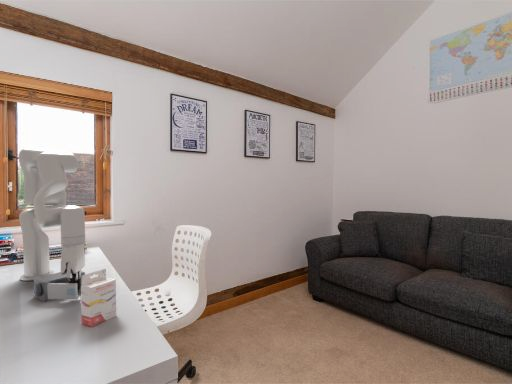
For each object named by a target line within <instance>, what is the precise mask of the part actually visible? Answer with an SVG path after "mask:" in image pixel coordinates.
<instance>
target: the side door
mask: <svg viewBox="0 0 512 384" xmlns="http://www.w3.org/2000/svg"><path fill="white" fill-rule="evenodd" d="M78 294H79V293H78V290H77V283H49V282H46V283H45V300H49V299H52V300H77V299H78V297H79V296H78ZM49 301H50V300H49Z"/></svg>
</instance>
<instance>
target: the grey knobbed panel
mask: <svg viewBox="0 0 512 384" xmlns="http://www.w3.org/2000/svg"><path fill="white" fill-rule="evenodd" d="M85 274H86V272H85V271H83V270H81V277H80V278H79V279H80V281H82V275H85ZM46 282H49V283H69V279H68V278H67V273H65V274H63V275H62V274H61V271H59V272H54V274H50V275H46V276H42V277H38V278H34V280H33V296H34V298H36V299H38V300H40V301H42V302H45V303H46V302H49V301H52V300H53V299H49V300H45V283H46ZM78 292H81V289H80V290H79V291H78Z"/></svg>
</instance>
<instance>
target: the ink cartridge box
mask: <svg viewBox="0 0 512 384" xmlns="http://www.w3.org/2000/svg"><path fill="white" fill-rule="evenodd" d="M94 275H95V277H93V276H94ZM96 275H97V276H96ZM106 276H107V269H106V268H102V269H99V270H96V271H92V272H90V273H85V275H82V281H81V291H80V300H81V301H80V302H81V303H80V305H81V307H80V308H81V309H80V310H81V312H80V313H81V324H82V325H85V326H88V327H91V328H93V327H95V326H97V325H100V324H101V323H103V322H105V321H107V320H110V319H112V318H114V317H117V282H116V281H117V280H116V279H115V278H110V277H106Z"/></svg>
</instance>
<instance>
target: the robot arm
mask: <svg viewBox="0 0 512 384" xmlns="http://www.w3.org/2000/svg"><path fill="white" fill-rule="evenodd" d="M18 163H19V165H20V168H21V171H22V173H23V201H24V203H25V204H26V205H27V206H30V207H31V206H32V208H27V209H24V210H22V211H21V212H20V213H19V214H18V215H19V216H18V219H19V220H18V221H19V225H20V228H21V236H22V252H23V253H22V254H23V274H21V275H20V276H19V280H20V281H26V282H27V281H34V278H38V277H42V276H46V275H50V274H54V273H55V271H54V270H51V267H50V266H51V265H50V263H51V262H50V243H49V240H50V238H49V236H48V234H47V233H45V231H44V230H42V229H47V228H48V229H49V228H56V227H60V246H61V251H60V252H61V253H60V272H61V274H62V275H63V274H65V273H67V278H68V279H69V283H77V290H78V291H79V290H80V289H81V281H80V279H79V278H80V277H81V271H83V268H85V265H86V254H85V244H86V223H85V221H86V219H85V218H86V217H85V215H86V214H85V209H84V208H83V207H82V206H78V205H75V204H72V205H71V204H70V205H69V204H68V205H67V192H66V188H67V187H68V186H69V180H68V177H67V175H66V174H67V173H69V174H71V173H76V172H77V170H78V168H79V160H78V158H77V156H76V155H75V154H74V153H72V152H70V151H67V150H64V149H63V150H61V149H53V148H52V149H50V148H39V147H27V148H22V149H21V150H20V151H19V153H18ZM79 292H80V291H79Z"/></svg>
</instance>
